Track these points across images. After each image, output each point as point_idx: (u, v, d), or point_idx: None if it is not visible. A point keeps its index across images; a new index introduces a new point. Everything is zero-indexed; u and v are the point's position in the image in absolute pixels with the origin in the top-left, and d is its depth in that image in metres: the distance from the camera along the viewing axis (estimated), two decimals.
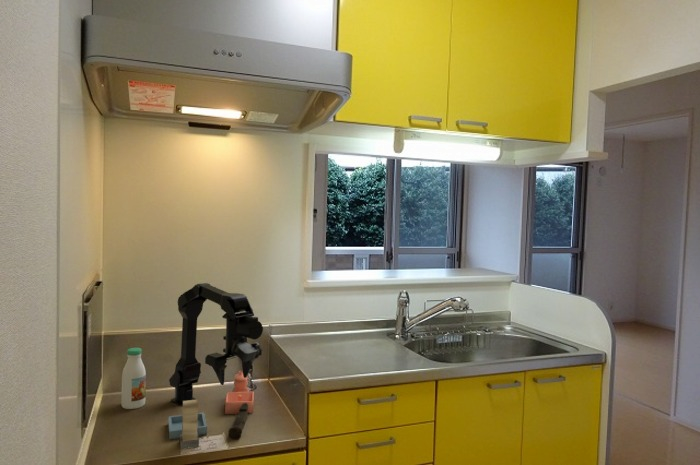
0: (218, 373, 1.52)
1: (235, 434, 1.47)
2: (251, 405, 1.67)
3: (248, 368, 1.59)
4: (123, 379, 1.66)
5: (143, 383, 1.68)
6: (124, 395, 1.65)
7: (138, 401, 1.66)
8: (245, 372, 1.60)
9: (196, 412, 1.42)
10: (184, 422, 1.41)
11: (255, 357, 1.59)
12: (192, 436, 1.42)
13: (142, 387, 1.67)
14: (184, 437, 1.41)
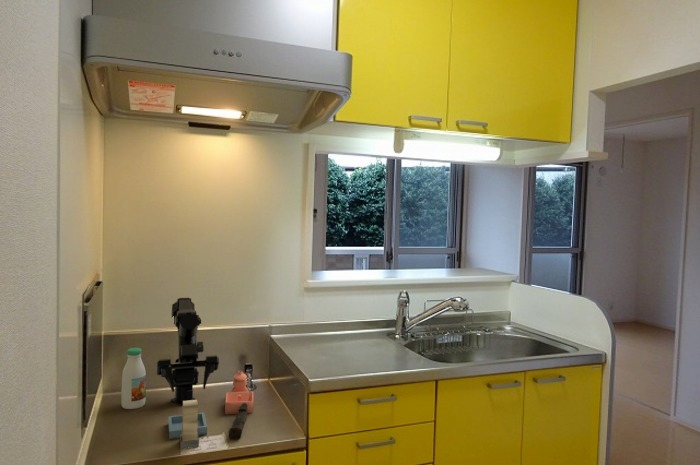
0: (169, 381, 1.51)
1: (235, 434, 1.47)
2: (251, 405, 1.67)
3: (205, 377, 1.53)
4: (123, 379, 1.66)
5: (143, 383, 1.68)
6: (124, 395, 1.65)
7: (138, 401, 1.66)
8: (203, 383, 1.53)
9: (196, 412, 1.42)
10: (184, 422, 1.41)
11: (209, 363, 1.55)
12: (192, 436, 1.42)
13: (142, 387, 1.67)
14: (184, 437, 1.41)
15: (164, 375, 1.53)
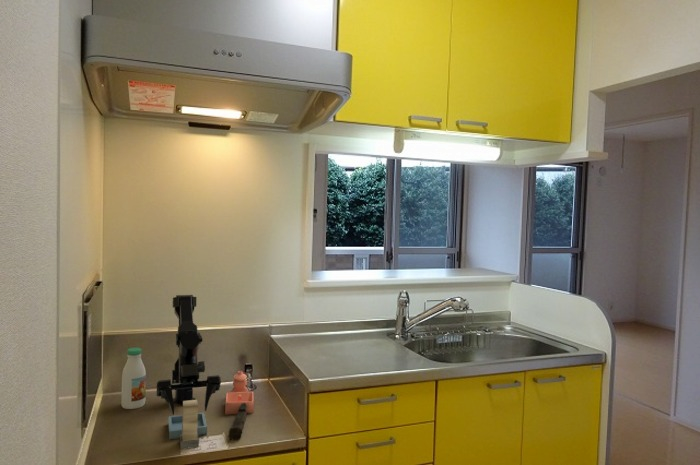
0: (169, 402, 1.45)
1: (235, 434, 1.47)
2: (251, 405, 1.67)
3: (206, 398, 1.48)
4: (123, 379, 1.66)
5: (143, 383, 1.68)
6: (124, 395, 1.65)
7: (138, 401, 1.66)
8: None
9: (196, 412, 1.42)
10: (184, 422, 1.41)
11: (211, 384, 1.49)
12: (192, 436, 1.42)
13: (142, 387, 1.67)
14: (184, 437, 1.41)
15: (164, 396, 1.47)
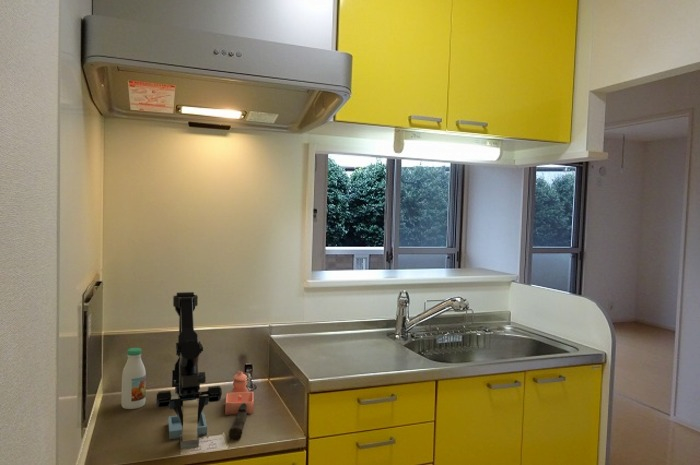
0: (177, 413, 1.43)
1: (235, 434, 1.47)
2: (251, 405, 1.66)
3: (199, 411, 1.44)
4: (123, 379, 1.66)
5: (143, 383, 1.68)
6: (124, 395, 1.65)
7: (138, 401, 1.66)
8: None
9: (196, 412, 1.42)
10: (184, 422, 1.41)
11: (204, 396, 1.46)
12: (192, 436, 1.42)
13: (142, 387, 1.67)
14: (184, 437, 1.41)
15: (172, 407, 1.45)
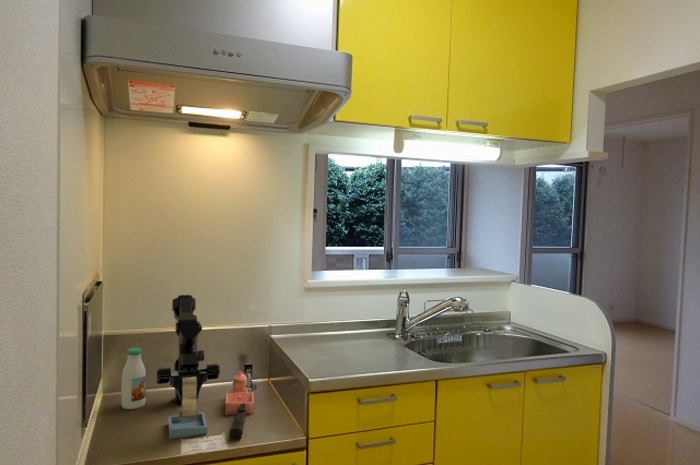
0: (177, 389, 1.49)
1: (236, 435, 1.47)
2: (251, 406, 1.66)
3: (198, 387, 1.49)
4: (123, 379, 1.66)
5: (143, 383, 1.68)
6: (124, 395, 1.65)
7: (138, 401, 1.66)
8: (196, 393, 1.49)
9: (195, 388, 1.47)
10: (183, 398, 1.46)
11: (202, 373, 1.51)
12: (191, 411, 1.47)
13: (142, 387, 1.67)
14: (183, 412, 1.46)
15: (172, 383, 1.51)
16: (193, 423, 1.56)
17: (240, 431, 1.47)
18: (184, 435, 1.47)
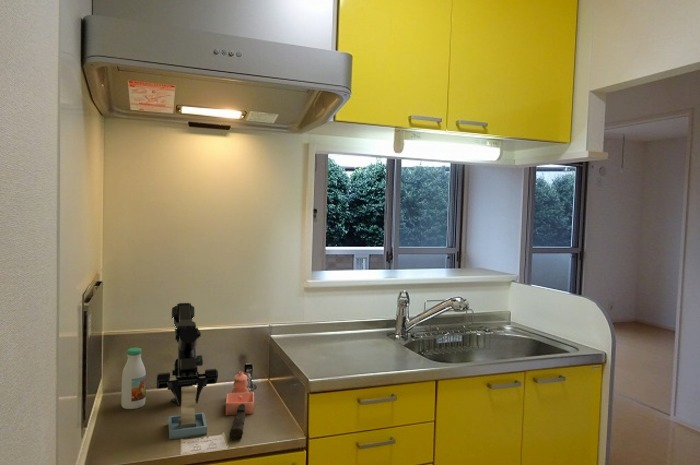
0: (175, 394, 1.52)
1: (236, 435, 1.47)
2: (252, 406, 1.66)
3: (198, 391, 1.53)
4: (123, 379, 1.66)
5: (143, 383, 1.68)
6: (124, 395, 1.65)
7: (138, 401, 1.66)
8: (196, 397, 1.53)
9: (194, 397, 1.51)
10: (182, 406, 1.50)
11: (202, 377, 1.55)
12: (190, 420, 1.51)
13: (142, 387, 1.67)
14: (182, 420, 1.50)
15: (170, 388, 1.54)
16: None
17: (240, 431, 1.47)
18: (184, 435, 1.47)
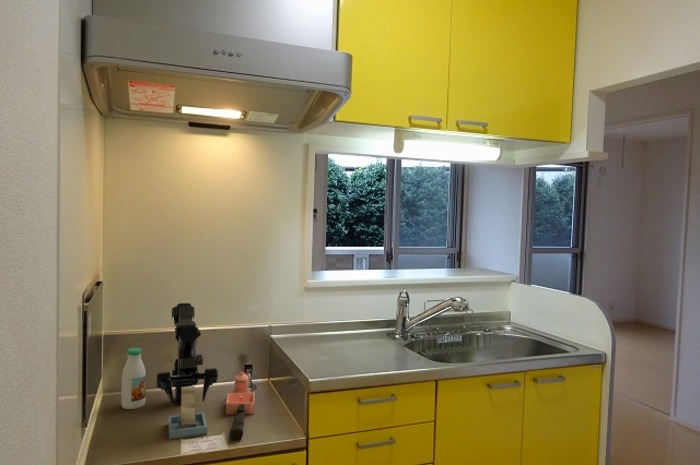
0: (168, 394, 1.52)
1: (236, 435, 1.46)
2: (252, 406, 1.66)
3: (204, 390, 1.54)
4: (123, 379, 1.66)
5: (143, 383, 1.68)
6: (124, 395, 1.65)
7: (138, 401, 1.66)
8: None
9: (194, 397, 1.51)
10: (182, 406, 1.50)
11: (209, 376, 1.56)
12: (190, 420, 1.51)
13: (142, 387, 1.67)
14: (182, 420, 1.50)
15: (163, 388, 1.54)
16: None
17: (241, 431, 1.47)
18: (184, 435, 1.47)
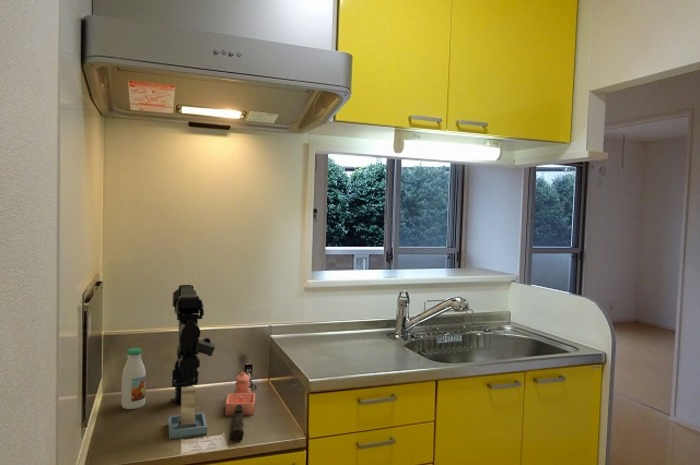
0: (186, 375, 1.53)
1: (237, 436, 1.46)
2: (251, 407, 1.65)
3: None
4: (123, 379, 1.66)
5: (143, 383, 1.68)
6: (124, 395, 1.65)
7: (138, 401, 1.66)
8: None
9: (194, 397, 1.51)
10: (182, 406, 1.50)
11: (195, 353, 1.66)
12: (190, 420, 1.51)
13: (142, 387, 1.67)
14: (182, 420, 1.50)
15: None
16: None
17: (241, 432, 1.46)
18: (184, 435, 1.47)
